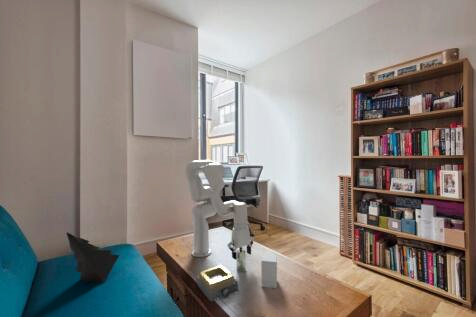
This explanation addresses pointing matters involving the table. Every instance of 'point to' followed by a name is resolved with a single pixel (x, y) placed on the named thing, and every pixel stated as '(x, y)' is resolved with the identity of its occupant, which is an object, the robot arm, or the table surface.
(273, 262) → the supplement box
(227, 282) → the grey and gold box
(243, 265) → the pale green bottle
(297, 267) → the table surface
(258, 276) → the table surface
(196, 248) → the robot arm
